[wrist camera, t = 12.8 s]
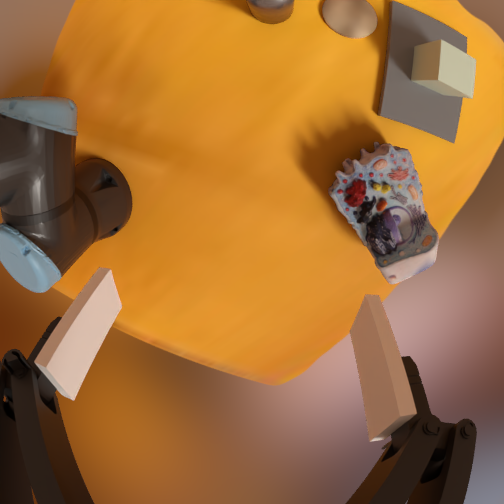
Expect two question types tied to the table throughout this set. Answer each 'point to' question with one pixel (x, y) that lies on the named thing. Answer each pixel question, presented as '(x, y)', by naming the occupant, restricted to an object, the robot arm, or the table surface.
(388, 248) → the cell model
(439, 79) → the sage block
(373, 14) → the cork coaster
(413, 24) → the slate board
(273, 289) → the table surface
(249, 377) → the table surface
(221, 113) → the table surface
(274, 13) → the dark tin
